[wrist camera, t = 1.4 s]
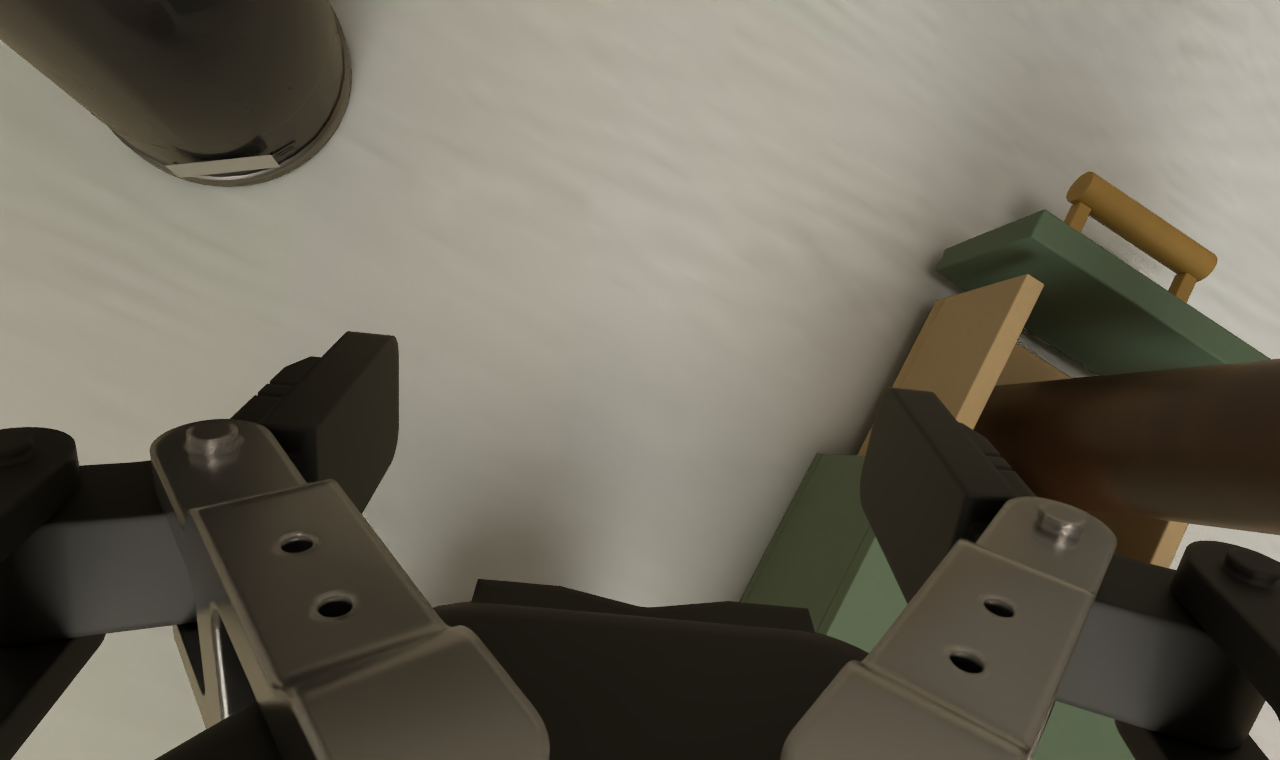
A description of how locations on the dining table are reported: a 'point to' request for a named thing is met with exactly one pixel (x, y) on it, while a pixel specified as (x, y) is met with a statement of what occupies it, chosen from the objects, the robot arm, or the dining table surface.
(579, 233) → the dining table surface
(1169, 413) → the pepper mill
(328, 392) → the robot arm
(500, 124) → the dining table surface
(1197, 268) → the drawer
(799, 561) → the cabinet
